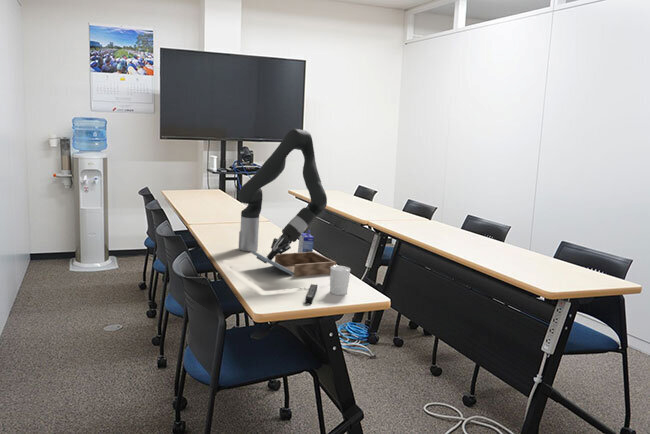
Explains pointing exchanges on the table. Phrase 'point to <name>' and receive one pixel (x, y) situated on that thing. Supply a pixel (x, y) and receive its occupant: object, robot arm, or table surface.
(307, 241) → the ink cartridge box
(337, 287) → the white cup
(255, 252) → the blue-grey flat rectangular panel
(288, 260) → the wooden tray
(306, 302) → the portable electronic device stand
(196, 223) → the table surface
